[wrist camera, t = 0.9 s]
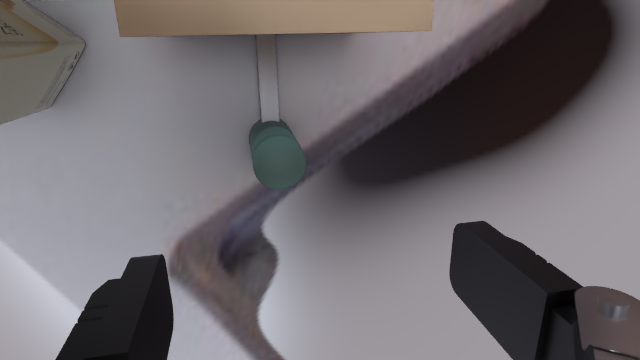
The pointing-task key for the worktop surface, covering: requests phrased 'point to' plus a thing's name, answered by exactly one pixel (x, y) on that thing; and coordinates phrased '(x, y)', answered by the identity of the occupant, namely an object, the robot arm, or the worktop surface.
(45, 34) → the skincare box
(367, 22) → the oak cubby
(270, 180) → the mallet
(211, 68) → the worktop surface
